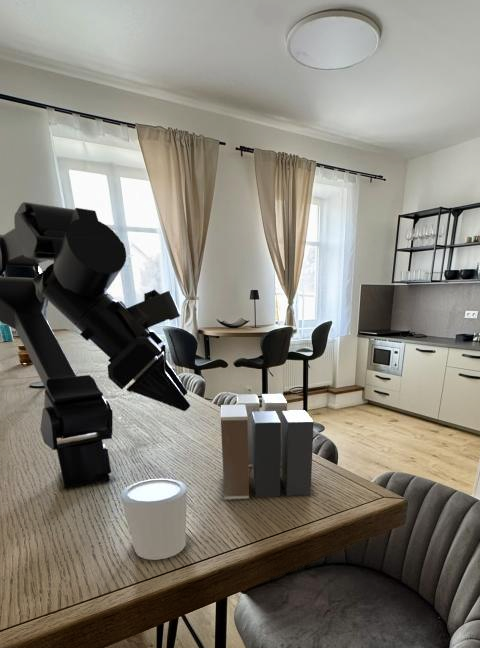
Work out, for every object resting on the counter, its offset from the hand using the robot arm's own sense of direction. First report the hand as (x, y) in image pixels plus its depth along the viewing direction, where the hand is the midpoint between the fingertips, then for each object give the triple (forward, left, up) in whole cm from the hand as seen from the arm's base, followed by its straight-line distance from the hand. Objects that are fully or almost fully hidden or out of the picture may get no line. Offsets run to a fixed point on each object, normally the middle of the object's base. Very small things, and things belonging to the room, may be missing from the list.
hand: (186, 401), depth 57 cm
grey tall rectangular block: (+13, +7, -13) cm, 19 cm away
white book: (+17, +5, -13) cm, 22 cm away
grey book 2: (+14, -7, -13) cm, 20 cm away
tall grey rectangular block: (+10, -5, -13) cm, 17 cm away
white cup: (-9, -14, -13) cm, 21 cm away
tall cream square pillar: (+5, -4, -13) cm, 15 cm away
